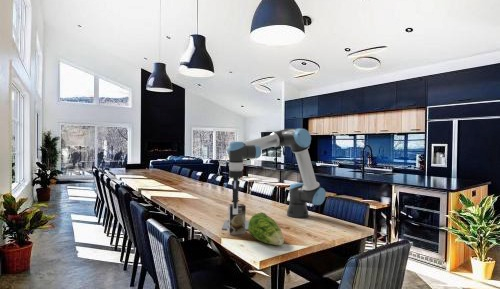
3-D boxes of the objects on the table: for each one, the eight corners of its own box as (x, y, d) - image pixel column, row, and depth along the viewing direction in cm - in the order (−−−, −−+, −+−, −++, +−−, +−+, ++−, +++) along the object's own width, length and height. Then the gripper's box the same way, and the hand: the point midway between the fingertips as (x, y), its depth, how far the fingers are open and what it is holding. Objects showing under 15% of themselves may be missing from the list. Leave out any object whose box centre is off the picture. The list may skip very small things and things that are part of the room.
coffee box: (229, 235, 167) (230, 206, 167) (227, 231, 173) (227, 203, 173) (245, 234, 169) (245, 205, 169) (242, 230, 176) (243, 203, 175)
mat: (253, 222, 194) (253, 221, 194) (252, 230, 176) (252, 229, 176) (225, 221, 194) (225, 220, 194) (221, 229, 176) (221, 228, 176)
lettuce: (270, 258, 146) (271, 234, 142) (244, 236, 164) (244, 214, 161) (292, 249, 154) (293, 226, 150) (264, 228, 172) (265, 207, 169)
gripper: (230, 168, 167) (229, 211, 168) (227, 171, 154) (226, 217, 155) (243, 169, 167) (242, 211, 168) (242, 171, 154) (241, 217, 155)
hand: (235, 214), depth 161 cm, fingers closed
